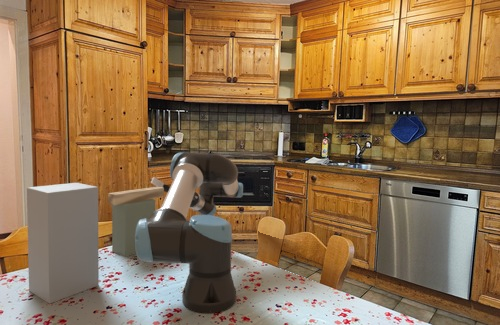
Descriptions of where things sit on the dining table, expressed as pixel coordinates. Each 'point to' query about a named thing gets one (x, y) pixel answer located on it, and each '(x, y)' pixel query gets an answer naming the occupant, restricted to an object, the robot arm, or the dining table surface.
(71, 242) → the stand
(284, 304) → the dining table surface
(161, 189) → the tan wooden bar
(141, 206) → the sage green block
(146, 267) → the dining table surface
